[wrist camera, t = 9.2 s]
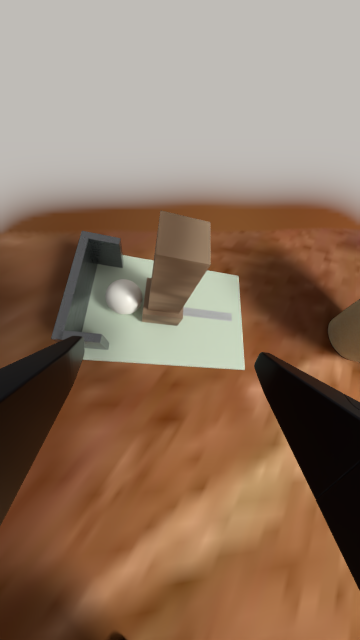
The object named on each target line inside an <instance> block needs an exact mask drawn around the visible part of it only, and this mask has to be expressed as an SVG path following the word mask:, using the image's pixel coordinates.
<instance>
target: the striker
mask: <svg viewBox="0 0 360 640" xmlns="http://www.w3.org/2000/svg"><path fill="white" fill-rule="evenodd" d="M210 265H211V245H210V222H207V221H203V220H198V219H194V218H190V217H185V216H181V215H177V214H173V213H169V212H165V211H160V219H159V227H158V233H157V241H156V248H155V255H154V263H153V270H152V278H147V281H146V289H145V297H144V305H143V314H142V322H146V323H156V324H165V325H174V326H178V324H179V323H180V322H181V320H182V319H183V307H184V305H185V303H186V302H187V300H188V299H189V297H190V296H191V294H192V293H193V291H194V290H195V288H196V286H197V285H198V283H199V282H200V280H201V279H202V277H203V276H204V274H205V273H206V271H207V270H208V268H209V266H210Z"/></svg>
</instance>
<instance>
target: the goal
mask: <svg viewBox="0 0 360 640" xmlns="http://www.w3.org/2000/svg"><path fill="white" fill-rule="evenodd" d="M98 264H101V265H107V266H113V267H119V268H123V255H122V247H121V239H120V238H116V237H111V236H106V235H100V234H95V233H90V232H85V231H82V232H81V236H80V239H79V243H78V246H77V250H76V253H75V257H74V260H73V264H72V267H71V271H70V274H69V278H68V281H67V285H66V288H65V292H64V295H63V299H62V302H61V306H60V309H59V313H58V316H57V320H56V323H55V327H54V330H53V334H52V337H51V339H53V340H55V341H58V342H60V341H62V340H64V339H66V338H69V337H71V336H82V337H83V338H84V348H90V349H103V350H108V348H109V342H108V341H107V339H106V338H105V337H104V336H103V335H102V334H96V333H85V332H82V330H83V325H84V321H85V317H86V312H87V308H88V304H89V299H90V295H91V291H92V286H93V282H94V278H95V273H96V269H97V265H98Z"/></svg>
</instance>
